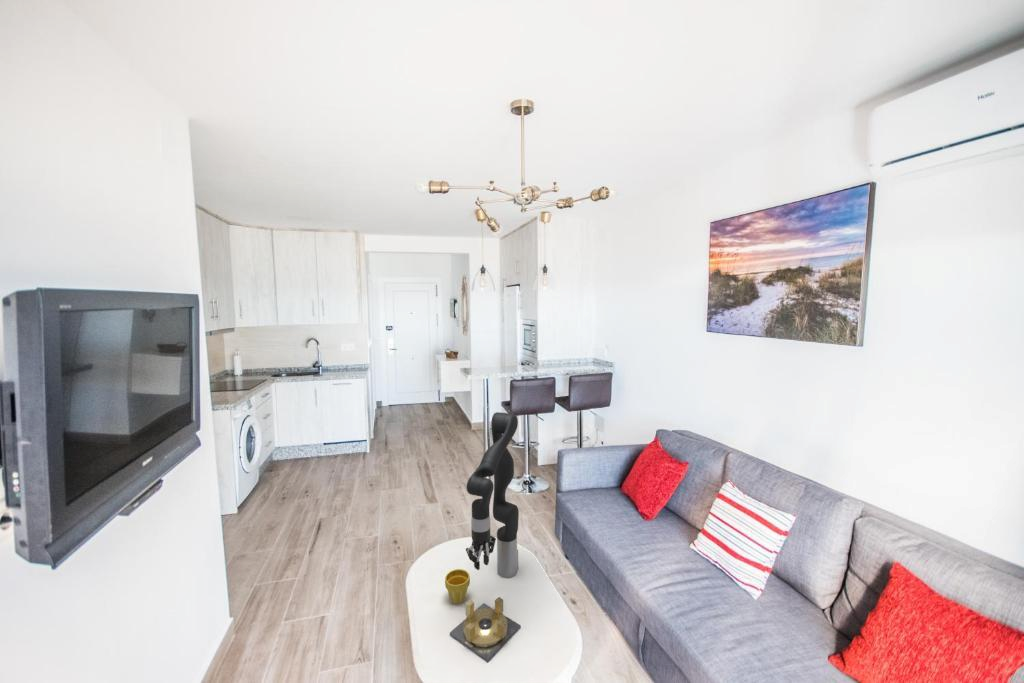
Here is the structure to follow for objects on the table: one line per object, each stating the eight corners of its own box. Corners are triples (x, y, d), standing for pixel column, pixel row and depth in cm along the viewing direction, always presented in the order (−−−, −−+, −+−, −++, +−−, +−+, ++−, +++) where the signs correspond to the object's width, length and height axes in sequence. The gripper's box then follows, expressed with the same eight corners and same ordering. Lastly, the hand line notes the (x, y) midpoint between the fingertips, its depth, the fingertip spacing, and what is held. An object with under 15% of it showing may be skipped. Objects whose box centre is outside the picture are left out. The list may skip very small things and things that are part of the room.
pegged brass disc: (483, 602, 170) (483, 588, 169) (520, 624, 159) (519, 609, 158) (450, 632, 155) (449, 616, 155) (487, 658, 144) (487, 641, 143)
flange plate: (483, 605, 171) (483, 602, 170) (520, 627, 159) (520, 624, 159) (449, 635, 156) (449, 632, 155) (487, 662, 144) (487, 659, 144)
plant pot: (465, 608, 169) (465, 586, 168) (441, 605, 171) (441, 583, 170) (473, 591, 179) (472, 570, 178) (450, 588, 181) (450, 567, 180)
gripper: (488, 516, 171) (489, 554, 173) (460, 529, 162) (461, 569, 164) (500, 523, 166) (501, 563, 168) (472, 537, 156) (473, 579, 158)
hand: (481, 566), depth 166 cm, fingers open, 3 cm apart
